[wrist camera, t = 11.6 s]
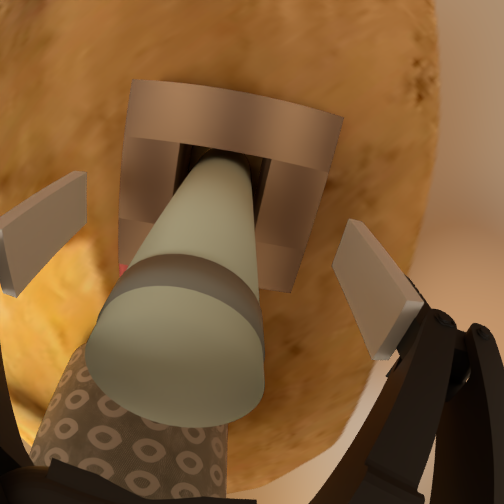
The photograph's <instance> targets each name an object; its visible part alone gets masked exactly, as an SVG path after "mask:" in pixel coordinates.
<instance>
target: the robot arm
mask: <svg viewBox="0 0 504 504" xmlns="http://www.w3.org/2000/svg"><path fill="white" fill-rule="evenodd" d="M86 186H87V172H80V171H73V172H71V173H70V174H68V175H66V176H64V177H62V178H61V179H59V180H57V181H56V182H54V183H52V184H50V185H49V186H47V187H45V188H44V189H42V190H40V191H39V192H37V193H36V194H34V195H32V196H31V197H29V198H28V199H26V200H25V201H23V202H22V203H20V204H19V205H17V206H16V207H14V208H13V209H11V210H10V211H8V212H7V213H5V214H4V215H2V216H1V217H0V284H1V288H2V291H3V293H5V294H7V295H10V296H13V297H16V298H17V297H18V296H19V294H20V293H21V292H22V291H23V290H24V288H25V287H26V286H27V285H28V284H29V283H30V282H31V280H32V279H33V278H34V277H35V276H36V275H37V274H38V272H39V271H40V270H41V269H42V268H43V267H44V266H45V265H46V264H47V263H48V262H49V260H50V259H51V258H52V257H53V256H54V255H55V254H56V253H57V252H58V251H59V250H60V249H61V248H62V247H63V246H64V245H65V244H66V243H67V242H68V241H69V240H70V239H71V238H72V237H73V236H74V235H75V234H76V233H77V232H78V231H79V230H80V229H81V228H82V227H83V226H84V225H85V224H86V223H87V210H86ZM332 268H333V270H334V272H335V274H336V276H337V279H338V281H339V283H340V285H341V287H342V290H343V292H344V294H345V297H346V299H347V301H348V303H349V306H350V308H351V310H352V313H353V315H354V317H355V320H356V322H357V325H358V327H359V329H360V332H361V334H362V337H363V339H364V342H365V344H366V347H367V349H368V352H369V354H370V357H371V359H372V360H389V359H390V357H391V356H392V354H393V353H394V351H395V350H396V349H397V350H398V353H399V355H400V357H399V358H398V359H397V361H396V362H395V364H394V365H393V367H392V368H391V369H390V371H389V372H388V373H387V375H386V377H388V379H387V381H386V383H385V385H384V387H383V389H382V391H381V393H380V395H379V397H378V398H377V400H376V402H375V404H374V406H373V408H372V409H371V411H370V413H369V415H368V417H367V418H366V420H365V422H364V424H363V425H362V427H361V429H360V431H359V432H358V434H357V435H356V437H355V439H354V440H353V442H352V444H351V445H350V447H349V448H348V450H347V451H346V453H345V455H344V456H343V458H342V459H341V461H340V462H339V464H338V465H337V467H336V468H335V470H334V471H333V472H332V474H331V475H330V477H329V478H328V479H327V481H326V482H325V484H324V485H323V486H322V488H321V489H320V490H319V492H318V493H317V494H316V496H315V497H314V498H313V499H312V500H311V501H310V503H309V504H424V502H425V498H424V495H423V494H421V493H419V492H418V491H417V488H418V485H419V482H420V479H421V477H422V474H423V472H424V469H425V466H426V463H427V461H428V458H429V454H430V452H431V449H432V445H433V442H434V439H435V436H436V448H435V463H434V473H433V482H432V490H431V497H430V504H504V366H503V363H502V360H501V356H500V353H499V350H498V347H497V344H496V341H495V338H494V337H493V335H492V333H491V332H490V330H489V329H488V328H486V327H485V326H482V325H481V324H478V323H473V324H472V325H471V326H470V328H469V329H468V331H467V332H463V331H460V330H458V329H457V326H456V324H455V322H454V320H453V319H452V318H451V317H450V316H449V315H448V314H446V313H445V312H443V311H441V310H438V309H431V308H430V306H429V305H428V303H427V302H426V300H425V299H424V298H423V296H422V295H421V294H420V293H419V291H418V289H417V288H416V287H415V285H414V284H413V283H412V281H411V280H410V279H409V278H408V277H407V276H406V275H405V274H404V273H403V272H402V271H401V270H400V268H399V267H398V266H397V264H396V263H395V262H394V261H393V259H392V258H391V257H390V255H389V254H388V253H387V252H386V250H385V249H384V248H383V246H382V245H381V244H380V243H379V241H378V240H377V239H376V238H375V236H374V235H373V234H372V233H371V232H370V230H369V229H368V228H367V227H366V226H365V224H364V223H363V222H362V221H358V220H354V219H350V218H349V219H348V222H347V225H346V228H345V231H344V233H343V236H342V239H341V242H340V244H339V247H338V250H337V253H336V255H335V258H334V261H333V263H332ZM468 378H469V379H468ZM467 379H468V380H467ZM466 380H467V382H466ZM0 504H257V501H256V500H249V499H229V498H216V497H206V496H202V497H192V498H178V499H154V500H153V499H146V498H143V497H140V496H138V495H136V494H134V493H132V492H130V491H128V490H126V489H124V488H122V487H120V486H118V485H116V484H114V483H113V482H111V481H109V480H107V479H105V478H103V477H102V476H100V475H98V474H96V473H93V472H90V471H87V470H84V469H81V468H78V467H76V466H73V465H70V464H68V463H65V462H62V461H60V460H57V459H55V458H53V457H52V460H51V463H50V466H35V465H34V464H33V462H32V460H31V458H30V457H29V455H28V453H27V452H26V450H25V448H24V446H23V443H22V440H21V437H20V434H19V430H18V427H17V424H16V420H15V416H14V413H13V409H12V405H11V401H10V396H9V392H8V387H7V382H6V377H5V371H4V366H3V359H2V353H1V345H0Z"/></svg>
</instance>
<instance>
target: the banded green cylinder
mask: <svg viewBox="0 0 504 504" xmlns="http://www.w3.org/2000/svg"><path fill="white" fill-rule="evenodd" d="M264 360H265V347H264V333H263V319H262V312H261V308H260V303H259V288H258V273H257V258H256V243H255V228H254V214H253V199H252V185H251V170H250V165H249V162H248V160H247V158H246V157H245V156H244V155H243V154H242V153H238V152H233V151H228V150H222V149H216V148H211V149H210V150H208V151H206V152H205V153H204V154H203V155H202V156H201V158H200V159H199V160H198V162H197V163H196V165H195V166H194V167H193V169H192V170H191V171H190V173H189V174H188V176H187V177H186V178H185V180H184V181H183V183H182V184H181V186H180V187H179V188H178V190H177V191H176V193H175V194H174V196H173V197H172V199H171V200H170V202H169V203H168V205H167V206H166V208H165V209H164V211H163V212H162V214H161V215H160V217H159V218H158V220H157V221H156V223H155V224H154V226H153V227H152V229H151V231H150V232H149V234H148V235H147V237H146V238H145V240H144V242H143V243H142V245H141V246H140V248H139V250H138V251H137V253H136V255H135V256H134V258H133V260H132V261H131V263H130V265H129V266H128V268H127V270H126V271H125V272H124V273H123V274H122V275H121V277H120V278H119V279H118V281H117V283H116V285H115V286H114V288H113V290H112V292H111V293H110V295H109V297H108V299H107V300H106V302H105V304H104V306H103V308H102V310H101V311H100V313H99V316H98V319H97V323H96V326H95V327H94V329H93V331H92V333H91V335H90V337H89V339H88V341H87V343H86V347H85V362H86V366H87V368H88V371H89V373H90V375H91V377H92V379H93V380H94V382H95V383H96V384H97V386H98V387H99V388H100V389H101V390H102V391H103V392H104V393H105V394H106V395H107V396H108V397H109V398H110V399H112V400H113V401H114V402H116V403H117V404H119V405H120V406H122V407H123V408H125V409H127V410H128V411H130V412H132V413H134V414H136V415H138V416H141V417H143V418H146V419H149V420H151V421H155V422H158V423H162V424H166V425H171V426H178V427H188V428H202V427H212V426H219V425H223V424H227V423H230V422H233V421H235V420H237V419H240V418H242V417H243V416H245V415H247V414H248V413H249V412H251V411H252V410H253V409H254V408H255V407H256V406H257V405H258V403H259V402H260V400H261V398H262V396H263V393H264V386H265V381H264V365H263V364H264Z"/></svg>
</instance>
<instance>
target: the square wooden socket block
mask: <svg viewBox="0 0 504 504" xmlns="http://www.w3.org/2000/svg"><path fill="white" fill-rule="evenodd" d="M343 119H344V117H341V116H338V115H335V114H331V113H328V112H325V111H321V110H318V109H314V108H310V107H307V106H303V105H299V104H295V103H291V102H287V101H283V100H278V99H274V98H269V97H265V96H260V95H255V94H250V93H245V92H240V91H234V90H228V89H222V88H215V87H209V86H201V85H194V84H185V83H176V82H165V81H153V80H137V79H132V84H131V90H130V96H129V103H128V110H127V117H126V125H125V133H124V142H123V153H122V164H121V178H120V196H119V235H118V246H119V264H124V265H130V263H131V261H132V260H133V258H134V256H135V255H136V253H137V251H138V250H139V248H140V246H141V245H142V243H143V242H144V240H145V238H146V237H147V235H148V234H149V232H150V231H151V229H152V227H153V226H154V224H155V223H156V221H157V220H158V218H159V217H160V215H161V214H162V212H163V211H164V209H165V208H166V206H167V205H168V203H169V202H170V200H171V199H172V197H173V196H174V194H175V193H176V191H177V190H178V188H179V187H180V186H181V184H182V183H183V181H184V180H185V178H186V177H187V175H188V168H189V161H190V155H191V149H192V145H198V146H204V147H210V148H216V149H222V150H228V151H233V152H238V153H244V154H249V155H254V156H259V157H263V161H262V165H261V170H260V174H259V178H258V183H257V187H256V192H255V196H254V200H253V214H254V228H255V243H256V258H257V273H258V288H260V289H266V290H272V291H279V292H286V293H291V291H292V288H293V285H294V282H295V279H296V276H297V273H298V270H299V267H300V264H301V261H302V258H303V255H304V252H305V249H306V246H307V242H308V239H309V236H310V233H311V230H312V227H313V224H314V220H315V217H316V214H317V211H318V207H319V204H320V201H321V197H322V194H323V191H324V187H325V184H326V181H327V177H328V174H329V170H330V167H331V163H332V160H333V156H334V153H335V149H336V145H337V142H338V138H339V134H340V131H341V127H342V123H343Z"/></svg>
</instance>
